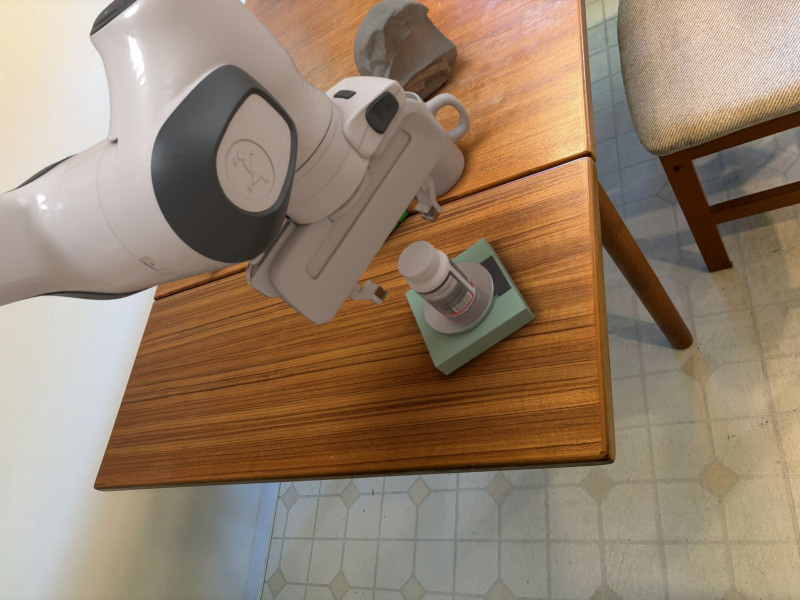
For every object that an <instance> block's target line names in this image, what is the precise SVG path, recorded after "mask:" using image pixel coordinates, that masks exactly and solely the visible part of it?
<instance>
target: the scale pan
mask: <svg viewBox="0 0 800 600" xmlns="http://www.w3.org/2000/svg"><path fill="white" fill-rule="evenodd" d="M456 265H457V266H458V267H459V268H460V269H461V270H462V271H463V272H464V273H465V274H466V275H467V276H468V277H469V278H470V279H471V281H472V282H473V283H474V285H475V290H476V293H475V298H474V301H473V303H472V304H471V306H470V307H469V308H468V309H467V310H466V311H465V312H464V313H462V314H460V315H457V316H445V315H443V314H441V313H440V312H439V311H437V310H436V309H435V308H434V307H433V306H432V305H431V304H429V303H428V302H427V301H426V300H425V299H424V301H423V313H424V317H425V319H426V321H427V323H428V324H429V326H430V327H432V328H433V329H434V330H435V331H437V332H439V333H441V334H445V335H458V334H462V333H465V332H467V331H469V330H471V329H473V328H474V327H476V326H477V325H478V324H479V323H480V322H481V321H482V320H483V319H484V318H485V317H486V316H487V314H488V313H489V311H490V309H491V307H492V305H493V302H494V299H495V283H494V280H493V277H492V276H491V274H490V273H489V272H488V271H487V270H486V269H485V268H484V267H483V266H481V265H479V264H477V263H473V262H462V263H458V264H456Z"/></svg>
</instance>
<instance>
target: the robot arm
mask: <svg viewBox="0 0 800 600" xmlns="http://www.w3.org/2000/svg"><path fill="white" fill-rule="evenodd" d="M89 41H90V42H91V44H92V46H93V48H94V49H95V50H96V52H97V53H98V54H99V56H100V58H101V61H102V64H103V68H104V72H105V77H106V81H107V87H108V97H109V110H110V111H109V125H108V126H109V127H108V133H107V137H106V138H104V139H101V140H100V141H98V142H95V143H94V144H92V145H90V146H89V147H87V148H85V149H84V150H82V151H80V152H78V153H75V154H72V155H68V156H66V157H65V158H62V159H60V160H58V161H56V162H53V163H52V164H49V165H47V166H45V167H44V168H43V169H41V170H39V171H37V172H36V173H35V174H32V175H31V176H30V177H29V178H28V179H26V180H25V181H23V182H22V183H21V184H19V185H18V186H16V187H15V188H13V189H11V190H8V191H5V192H2V193H0V307H3V306H6V305H10V304H13V303H17V302H20V301H25V300H29V299H33V298H39V297H60V298H72V299H81V300H87V301H89V300H90V301H112V300H119V299H120V300H121V299H125V298H128V297H131V296H134V295H136V294H139V293H141V292H145V291H147V290H150V289H151V288H154V287H157V286H162V285H165V284H169V283H173V282H178V281H182V280H185V279H189V278H193V277H197V276H201V275H205V274H209V273H214V272H213V271H216V272H218V271H221V270H223V269H227V268H230V267H234V266H238V265H240V264H242V263H246V262H248V263H247V265H246V267H245V278H246V282H247V284H248V285H249V286H250V287H251V289H253V290H254V291H256V292H257V293H259V294H261V295H262V296H264V297H266V298H269V299H275V298H279V299H281V300H282V301H283V302H284V303H285V304H286V305H288V306H289V307H290V308H292V309H293V311H295V312H297V313H299V314H300V315H301V316H303V317H304V318H305V319H307V320H309V321H310V322H312V323H314V324H315V325H324V324H328V323H330V322H332V321H333V319H334V318H335V317H336V315H337V314H338V312H339V311H340V309H341V308H342V306H343V305H344V303H345V302H346V300H347V299H350V300H352V301H366V300H369V301H370V302H372V303H373V304H375V305H377V306H381V305H382V303H383V302H384V300H385V299H386V298H387V296H388V294H389V292H388V291H387V290H386V289H384V287H382V286H381V285H380V284H378V283H376V282H374V281H372V280H370V279H366V281H365V282H364V284H363V285H360V284H359V283H358V282H359V281H360V279H361V278H362V277H363V275H364V273H365V272H366V270H367V269H368V267H369V266H370V265H371V264H372V263H371V262H372V261H373V260H374V258H375V257H376V255H377V254H378V252H380V249H381V248H382V247H383V245H384V243H385V242H386V240H387V239H388V237H389V236H390V235H391V234H392V233H391V231H392V230H393V228H394V227H395V225H396V224H397V222H398V221H399V219H400V218H401V216H402V215H403V213H404V212H405V210H406V209H407V210H408V207H409V206H410V204H411V203H412V201H414V198H415V195H416V194H417V198H418V199H417V198H416V199H417V202H418V203H417V204H416V205H415V207H414V211H415V212H416V213H417V214H419V215H420V217H421V218H422V219H423V220H424V221H427V222H431V223H433V224H435V223H436V221H437V220H438V218H439V217H440V215H441V214H442V212H443V208H442V206H441V205H440V204H439V203H438V202H437V201H436V199H437V198H436V196H435V188H434V180H433V179H432V178H431V176H430V175H429V174H430V173H431V171H432V170H433V168H434V167H435V165H436V164H437V162H438V161H439V159H440V158H441V157H442V155H443V154H444V152H445V151H446V148H447V136H446V132H445V130H446V129H445V128H444V127H443V126H442V124H441V123H440V122H439V121H438V119H437V118H436V116H435V117H434V116H433V115H432V114H431V113H430V112H429V111H428V110H427V109H426V108H425V107H424V106H423V105H422V104H421V103H420V102H418V101H417V100H415V99H411V98H406V94H405V91H404V89H403V88H402V86H401V85H400V84H399V83H398V82H397V81H395V80H392V79H387V78H382V77H374V76H361V75H357V76H355V75H354V76H347V77H344V78H343V79H342V80H340V81H339V82H337V83H336V84H335V85H333V86H332V87H331V88H329V89H328V90H327V91H325V92H324V91H323V90H322V89H321V88H319V87H318V86H315V85H314V84H312V83H311V82H310V81H308V80H307V79H306V78H305V77H304V76H303V75H302V74H301V72H300V70H299V69H298V67H297V66H296V63H295V61H294V59H293V56H292V55H291V54H290V51H289V50H287V48H286V47H285V46H284V45H283V44H282V43H281V41H280V40H279V39H278V38H277V37H276V35H274V34H273V32H272V31H270V29H269V28H268V27H267V26H266V25H265V24H264V23H263V22H262V20H260V19H259V18H258V17H257V15H256V14H255V13H254V12H253V11H252V10H251V9H250V8H249V7H247V5H246V4H245V3H244V2H243V1H242V0H113V1H111V2H110V3H109V4H108V5H107V6H106V7H105V8H104V9H103V10H102V11H100V13H99V14H98V16H97V17H96V18H95V20H94V22H93V24H92V27H91V30H90V32H89ZM436 119H437V120H436ZM443 128H444V129H445V130H444V129H443ZM390 233H391V234H390Z"/></svg>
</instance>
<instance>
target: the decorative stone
mask: <svg viewBox="0 0 800 600" xmlns="http://www.w3.org/2000/svg"><path fill="white" fill-rule="evenodd" d="M429 12H430V8H428V7H427V6H426V5H425V4H424V3H421V2H420V1H418V0H382V1H379V2H378V3H376V4H375V5H373V6H372V7H371V8H370V9H369V10H368V11H367V13H366V14H365V16H364V18H363V19H362V21H361V22H360V25H359V26H358V29H357V32H356V34H355V37H354V40H353V60H354V65H355V67H356V69H357V71H358V74H359V76H374V77H382V78H387V79H392V80H395V81H397V82H398V83H399V84H400V85H401V86H402V88H403V89H404V91H405V92H413V93H415V94H417V95H418V96H419V97H420V98H421V99H422V100H423V101H424V100H425V99H426V98H428V97H429V96H430V95H432V94H433V93H434V92H435V91H436V90H438V89H439V88H440V87H441V86H442V85H443V84H444V83H445V82H446V81H447V80H448V79H449V76H450V74H451V73H452V71H453V69H454V67H455V66H456V63H457V58H458V51H457V47H456V44H455V43H454V42H453V41H452V40H451V39H450V38H449V37H447V36H446V35H445V34H444V33H443V32H442V31H441V30H440V28H438V27H437V25H436V24H435V23H434V22H433V21H432V20H431V18H430V17H429V15H428V13H429Z"/></svg>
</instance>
